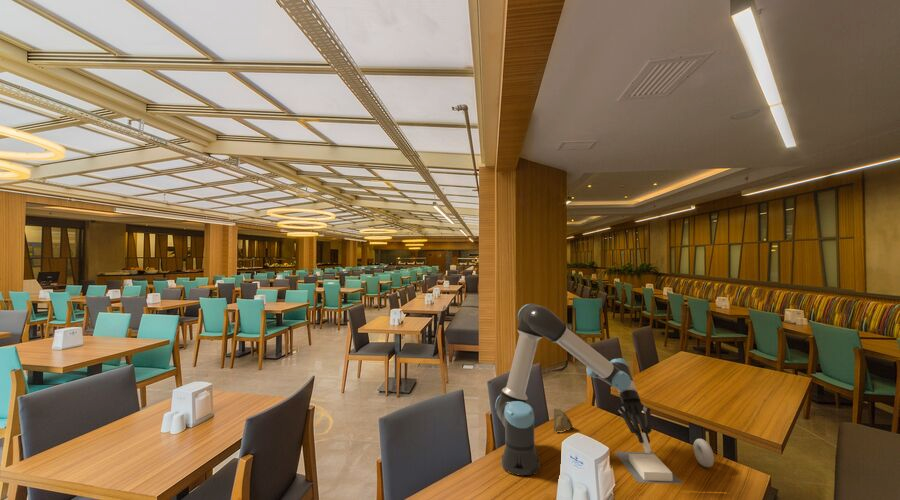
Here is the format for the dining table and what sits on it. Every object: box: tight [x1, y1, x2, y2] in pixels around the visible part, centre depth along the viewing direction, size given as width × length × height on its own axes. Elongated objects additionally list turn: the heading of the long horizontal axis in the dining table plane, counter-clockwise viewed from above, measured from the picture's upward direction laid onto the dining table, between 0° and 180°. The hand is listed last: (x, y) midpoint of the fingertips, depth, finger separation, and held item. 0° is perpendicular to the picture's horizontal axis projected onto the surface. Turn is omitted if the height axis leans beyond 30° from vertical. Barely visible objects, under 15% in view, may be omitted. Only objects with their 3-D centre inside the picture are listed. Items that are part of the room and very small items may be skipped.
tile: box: [629, 453, 673, 481], centre depth 137 cm, size 3×10×13 cm
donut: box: [692, 438, 715, 468], centre depth 141 cm, size 10×4×10 cm, turn 175°
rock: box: [553, 408, 574, 432], centre depth 173 cm, size 11×9×10 cm
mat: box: [614, 451, 684, 485], centre depth 140 cm, size 22×16×1 cm
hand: (648, 451), depth 138 cm, fingers closed
